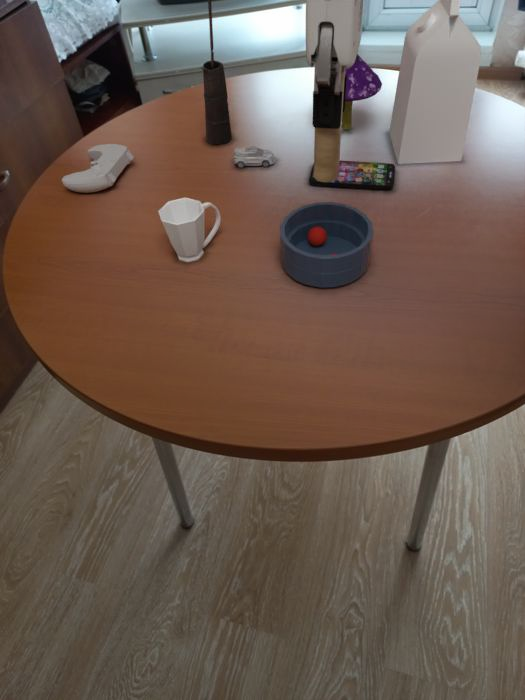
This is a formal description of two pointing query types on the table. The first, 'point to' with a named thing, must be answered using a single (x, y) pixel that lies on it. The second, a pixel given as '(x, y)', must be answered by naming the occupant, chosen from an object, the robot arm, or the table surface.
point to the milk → (435, 87)
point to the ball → (317, 236)
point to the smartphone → (361, 175)
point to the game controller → (100, 169)
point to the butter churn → (215, 97)
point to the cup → (187, 226)
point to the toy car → (253, 157)
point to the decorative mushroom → (358, 87)
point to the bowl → (326, 244)
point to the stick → (328, 147)
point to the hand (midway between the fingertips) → (328, 117)
